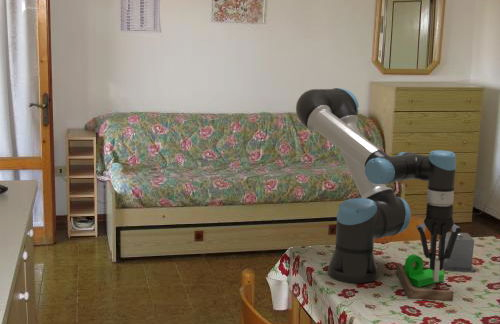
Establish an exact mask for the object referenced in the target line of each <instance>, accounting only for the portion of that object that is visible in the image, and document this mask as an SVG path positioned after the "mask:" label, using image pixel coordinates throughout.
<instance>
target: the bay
mask: <svg viewBox="0 0 500 324" xmlns="http://www.w3.org/2000/svg"><path fill="white" fill-rule="evenodd" d="M414 266H415V265H413V267H414ZM427 269H430V265H429V266H427V265H425V266H424V265H423V270H427ZM396 274H397V276H398V278H399V280H400V283H401V285H402V287H403V290H404V292H405V294H406V298H408V299H418V300H419V299H420V300H421V299H422V300H433V301H434V300H437V301H454V295H455V293H454V291H453V290H445V289H444V290H442V289H430V288H429V289H427V288H426V289H425V288H414V286H413V285H412V284H411V283H410V281H409V278H408V276H407V274H406V272H405V264H402V263H401V262H399V263H397V265H396Z"/></svg>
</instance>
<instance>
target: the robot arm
mask: <svg viewBox="0 0 500 324" xmlns="http://www.w3.org/2000/svg"><path fill="white" fill-rule="evenodd" d="M359 107H360V106H359V101H358V99H357V96H355V94H354V93H353V92H352V91H351V90H348V89H346V88H340V87H336V88H324V89H323V88H322V89H321V88H313V89H309V90H306V91H305V92H303V93H302V94H301V95H300V97H299V98H298V100H297V102H296V106H295V111H296V112H295V113H296V116H297V119H299V121H300V123H301V124H302V125H303V126H304V127H305V128H306V129H308V130H309V131H311V132H314V133H315V132H316V133H318V134H320V135H321V136H322V137H323V138H325V140H327V141H329V142H330V143H331V144H332V145H334V147H336V148H338V149H339V151H340V153H341V156H342V158H343V160H344V162H345V165H346V166H347V169H348V171H349V173H350V175H351V178H352V181H353V182H354V183H355V184H354V185H355V186H356V187H357V190H358V193H359V194H360V196H361V197H358V198H350V199H345V200H344V201H342V202H341V203H340V204H339V205H338V208H337V215H336V229H335V230H336V232H335V247H334V248H335V249H334V252H333V254H332V256H331V258H330V261H329V263H328V268H327V269H328V271H327V273H328V276H329V277H331V278H333V279H335V280H338V281H341V282H345V283H351V284H352V283H353V284H365V283H370V282H371V283H372V282H373V281H375V280H376V279H377V278H378V267H377V263H376V259H375V256H374V255H375V254H374V247H375V246H374V244H375V240H378V239H382V238H386V237H394V236H396V235H398V234H402V233H403V232H404V231H405V230H407V228H408V227H409V225H410V221H411V217H412V213H411V208H410V205H409V204H408V202H407V201H406V200H405V199H404V198H402V197H399V196H396V193H395V191H394V189H393V188H392V187H388V186H386V184H389V183H394V182H395V183H396V182H401V181H409V180H419V181H425V182H427V192H426V193H427V194H426V202H427V204H426V213H425V214H426V215H425V219H424V220H423V223H420V224H417V225H416V227H415V228H416V229H417V231H418V232H419V237H420V241H421V246H422V250H423V255H424V257H425V258H427V259H429V267H430V269H431V270H433V277H432V279H433V280H434V282H437V283H440V282H439V270H441V271H444V270H443V261H444V259H449V258H450V256H451V253H452V250H453V247H454V244H455V241H456V238H457V235H458V234H459V233H461V231H462V229H461V227H460V226H459V225H456V224H455V222H454V219H453V215H454V205H453V204H454V202H455V201H454V197H455V195H454V194H455V178H456V169H457V166H456V164H457V162H456V161H457V156H456V154H455V152H453V151H450V150H441V149H439V150H438V149H436V150H431V151H430V152H429V154H428V155H425V154H419V153H413V152H410V151H409V152H407V151H404V152H403V151H401V152H399V153H397V155H393V156H391V155H388V154H387V153H386V152H385V151H383V150H382V149H380V148H379V147H377V145H375V144H374V143H373V142H372V141H370V140H368V139H367V138H366V137H364V136H363V135H362V133H361V131H360V129H359V128H358V125H357V124H358V120H359V117H358V115H359V111H360V110H359ZM426 229H427V230H428V231H429V232H430V233H429V234H430V245H429V246H430V247H428V242H427V237H426V233H425V231H426ZM450 230H451V231H450ZM447 232H451V235H450V238H449V241H448V244H447V247H446V250H445V238H446V233H447ZM438 236H439V238H438ZM437 239H438V250H437ZM429 248H430V249H429ZM444 250H445V253H444ZM437 251H438V252H437ZM437 253H438V254H437Z"/></svg>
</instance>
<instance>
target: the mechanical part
mask: <svg viewBox="0 0 500 324" xmlns="http://www.w3.org/2000/svg"><path fill="white" fill-rule="evenodd" d="M404 265H405V272H406V274H407V276H408V278H409V281H410V283H411V285H412V286H413V287H414V286H415V287H417V288H420V287H424V286H428V285H433V284H436V283H441V282H443V281H444V279H445V272H444V270H439V282H434V280H433V279H432V277H433V270H431V269H427V270H423V266H424V260H423V258H422V257H421V256H419V255H416V254H413V253H412V254H410V255H408V256H407V258H406V259H405V263H404ZM413 266H414V267H413Z"/></svg>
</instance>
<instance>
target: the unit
mask: <svg viewBox="0 0 500 324" xmlns="http://www.w3.org/2000/svg"><path fill="white" fill-rule="evenodd" d="M451 232H452V231H448V232H447V233H446V238H445V250H446V247H447V244H448V241H449V238H450V235H451ZM474 246H475V239H474V238H473V237H472V236H471V235H470V234H469V232H460V233H459V234H458V235H457V238H456V241H455V244H454V247H453V250H452V253H451V256H450V258H449V259H444V261H443V270H442V271H449V272H450V271H451V272H463V273H464V272H466V273H468V272H469V273H476V269H475V268H474V267H473V255H474V248H475V247H474ZM445 250H444V253H445Z"/></svg>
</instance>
